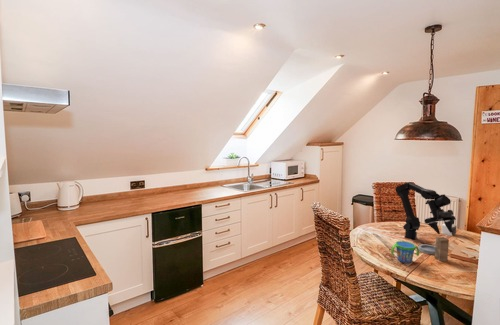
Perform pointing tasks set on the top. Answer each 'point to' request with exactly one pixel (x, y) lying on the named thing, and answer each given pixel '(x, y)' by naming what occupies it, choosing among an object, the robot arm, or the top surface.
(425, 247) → the gray bowl
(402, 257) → the snack cup
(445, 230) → the medicine bottle
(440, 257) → the walnut block
